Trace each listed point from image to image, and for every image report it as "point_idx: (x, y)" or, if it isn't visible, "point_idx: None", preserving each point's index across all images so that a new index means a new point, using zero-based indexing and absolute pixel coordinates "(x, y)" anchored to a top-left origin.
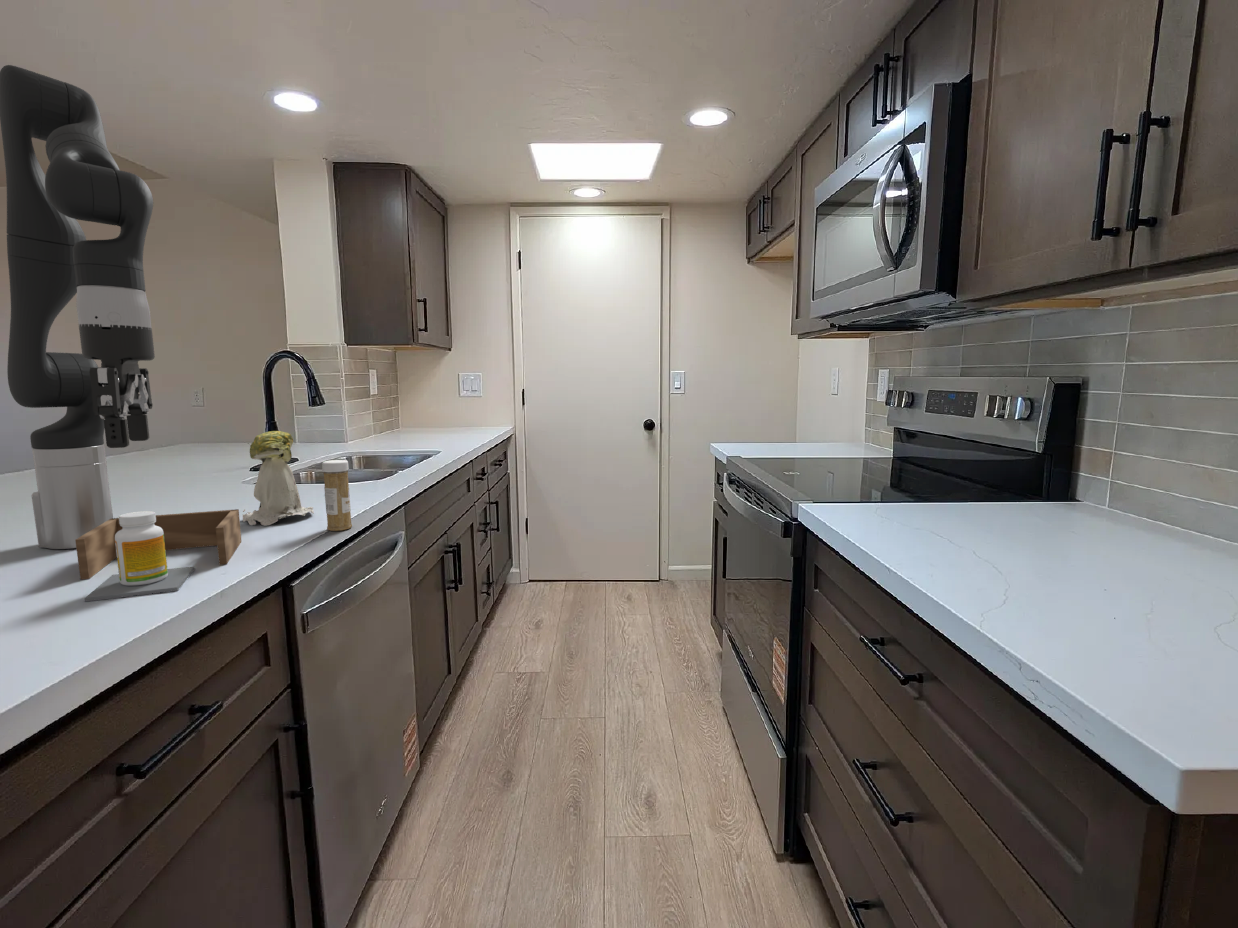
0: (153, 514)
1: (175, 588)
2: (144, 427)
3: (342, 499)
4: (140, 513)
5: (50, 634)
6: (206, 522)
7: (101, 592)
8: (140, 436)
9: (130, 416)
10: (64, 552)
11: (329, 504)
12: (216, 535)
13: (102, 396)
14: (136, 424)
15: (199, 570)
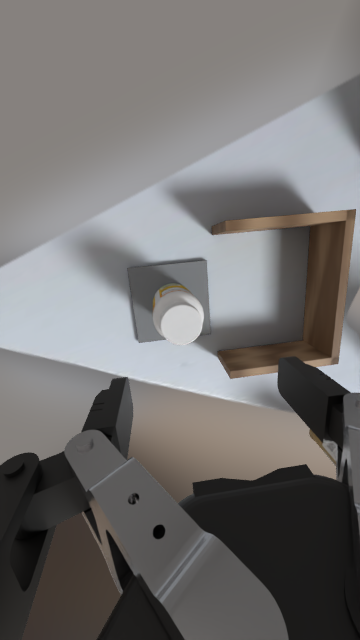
0: (179, 344)
1: (138, 340)
2: (298, 408)
3: (335, 465)
4: (184, 328)
5: (38, 280)
6: (324, 325)
7: (141, 277)
8: (283, 383)
9: (323, 404)
10: (356, 142)
11: (335, 448)
12: (227, 367)
13: (100, 515)
14: (304, 399)
15: (204, 338)
